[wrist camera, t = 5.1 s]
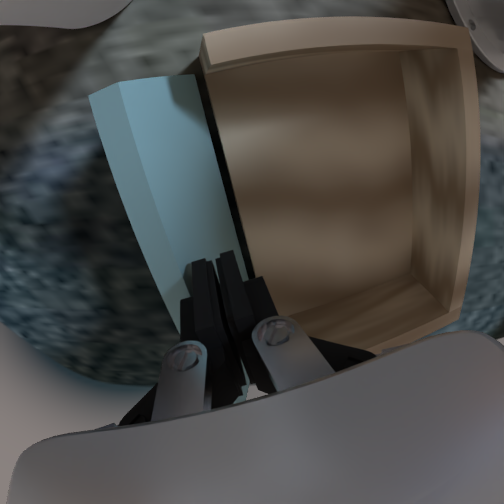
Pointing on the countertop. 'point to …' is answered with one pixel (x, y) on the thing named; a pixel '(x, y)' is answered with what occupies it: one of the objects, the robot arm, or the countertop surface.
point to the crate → (352, 168)
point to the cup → (59, 12)
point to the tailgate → (167, 180)
